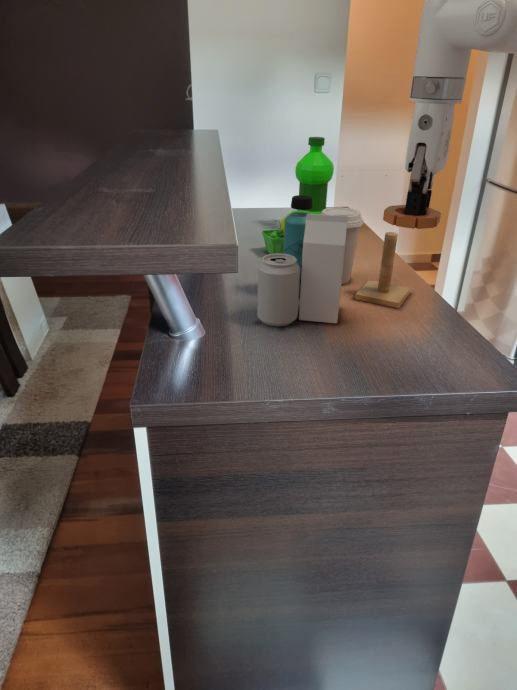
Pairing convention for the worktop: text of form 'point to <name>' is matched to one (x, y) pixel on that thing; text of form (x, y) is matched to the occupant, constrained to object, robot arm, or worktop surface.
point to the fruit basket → (275, 238)
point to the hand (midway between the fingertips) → (415, 214)
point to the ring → (411, 218)
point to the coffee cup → (348, 236)
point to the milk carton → (322, 267)
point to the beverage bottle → (296, 229)
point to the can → (278, 289)
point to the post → (385, 279)
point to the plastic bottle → (315, 175)
